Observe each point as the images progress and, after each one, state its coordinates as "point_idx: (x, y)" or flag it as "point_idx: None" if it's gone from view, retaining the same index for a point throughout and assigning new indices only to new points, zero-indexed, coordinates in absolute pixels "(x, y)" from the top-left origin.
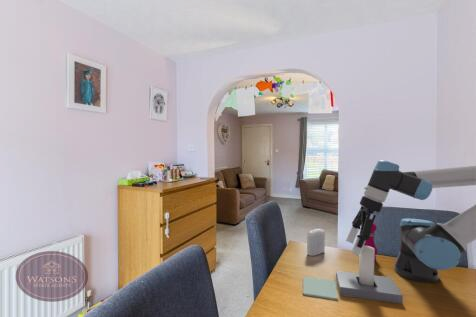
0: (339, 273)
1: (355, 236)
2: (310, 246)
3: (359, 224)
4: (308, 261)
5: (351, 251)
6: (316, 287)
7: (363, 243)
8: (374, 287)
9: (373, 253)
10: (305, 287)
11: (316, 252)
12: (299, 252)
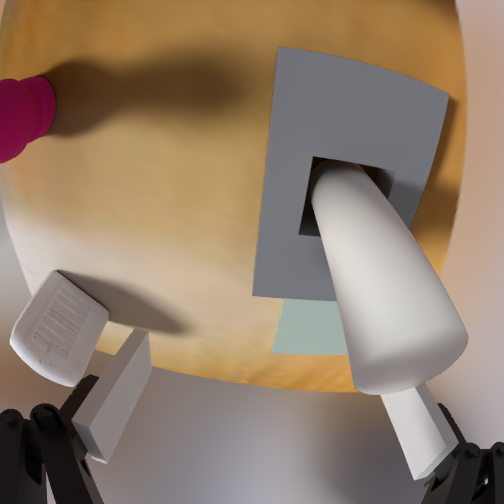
0: (276, 289)
1: (122, 375)
2: (96, 342)
3: (94, 499)
4: (152, 326)
5: (383, 396)
6: (333, 332)
7: (444, 425)
8: (393, 185)
9: (457, 313)
10: (332, 351)
11: (91, 307)
12: (103, 333)
